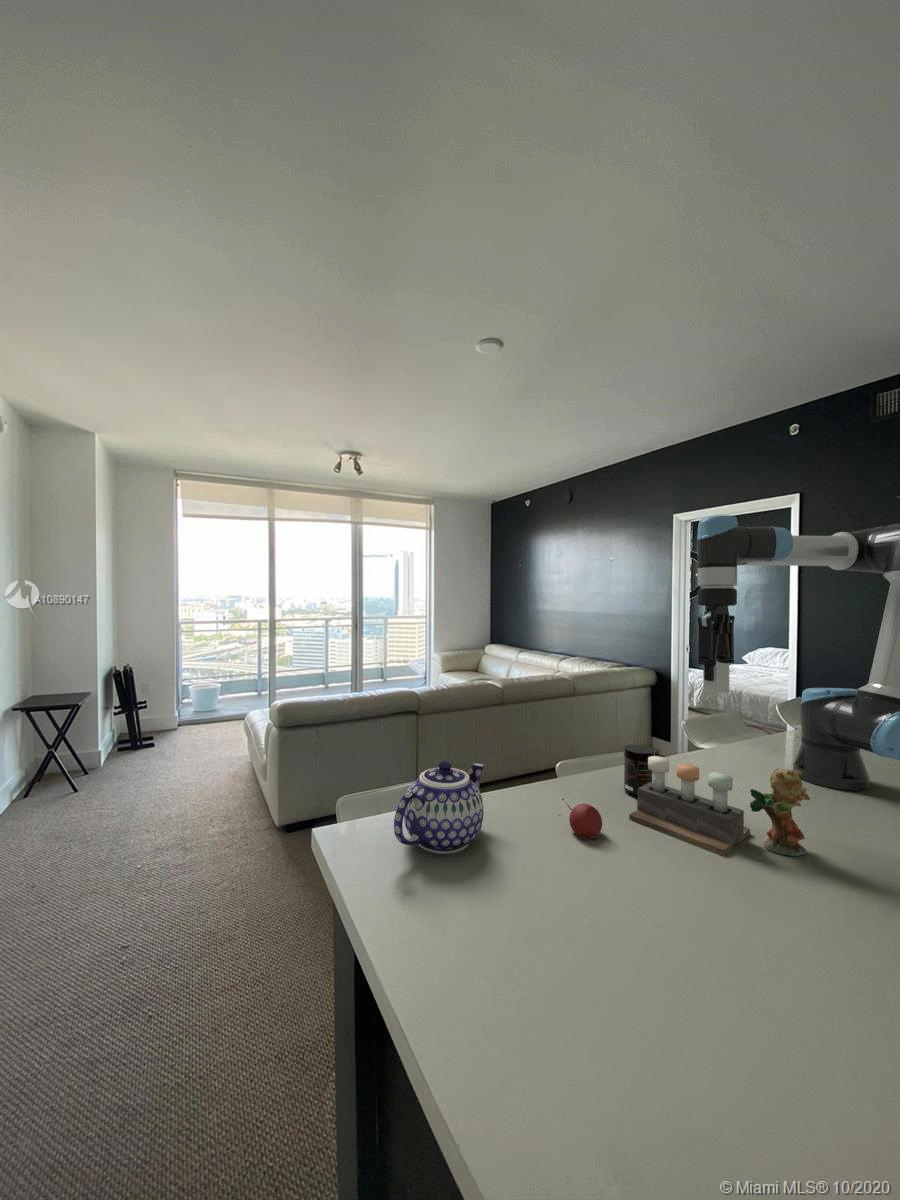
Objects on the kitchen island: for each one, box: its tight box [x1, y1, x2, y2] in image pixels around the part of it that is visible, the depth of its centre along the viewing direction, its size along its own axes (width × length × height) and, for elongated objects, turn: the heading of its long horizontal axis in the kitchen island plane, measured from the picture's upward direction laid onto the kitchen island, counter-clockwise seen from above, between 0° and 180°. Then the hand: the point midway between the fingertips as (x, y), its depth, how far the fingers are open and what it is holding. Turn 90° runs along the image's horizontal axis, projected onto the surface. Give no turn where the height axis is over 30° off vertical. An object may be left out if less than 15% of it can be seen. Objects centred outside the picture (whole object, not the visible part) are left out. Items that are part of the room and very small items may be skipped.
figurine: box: [749, 767, 811, 857], centre depth 86 cm, size 9×8×15 cm
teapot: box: [393, 760, 485, 855], centre depth 88 cm, size 25×15×15 cm, turn 138°
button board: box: [628, 782, 751, 857], centre depth 94 cm, size 12×18×6 cm
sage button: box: [707, 771, 733, 813], centre depth 89 cm, size 4×4×6 cm
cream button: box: [648, 755, 670, 793], centre depth 99 cm, size 4×4×6 cm
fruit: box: [561, 798, 603, 839], centre depth 92 cm, size 6×6×8 cm
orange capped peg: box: [676, 763, 700, 802], centre depth 94 cm, size 4×4×6 cm
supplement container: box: [623, 744, 656, 798], centre depth 110 cm, size 7×7×10 cm
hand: (716, 693), depth 103 cm, fingers open, 5 cm apart
